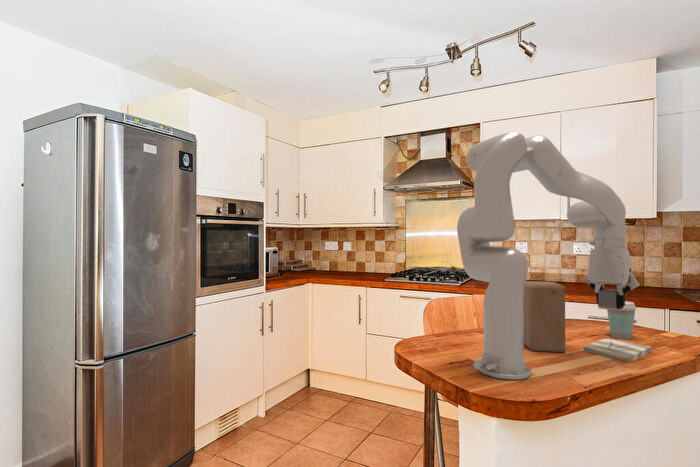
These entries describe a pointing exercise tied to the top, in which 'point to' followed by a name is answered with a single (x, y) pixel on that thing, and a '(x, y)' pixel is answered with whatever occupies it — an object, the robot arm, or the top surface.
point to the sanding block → (607, 299)
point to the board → (618, 349)
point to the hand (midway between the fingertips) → (610, 306)
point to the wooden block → (544, 316)
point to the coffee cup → (622, 321)
